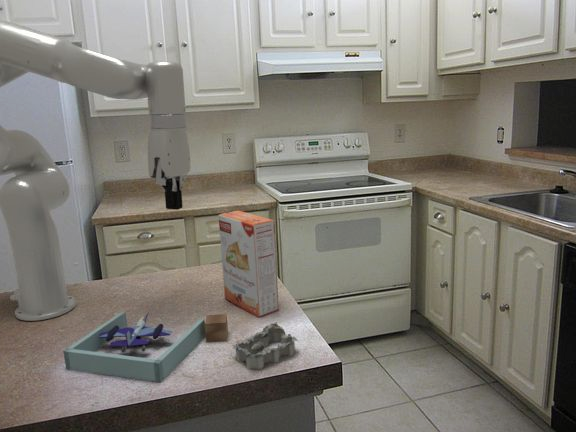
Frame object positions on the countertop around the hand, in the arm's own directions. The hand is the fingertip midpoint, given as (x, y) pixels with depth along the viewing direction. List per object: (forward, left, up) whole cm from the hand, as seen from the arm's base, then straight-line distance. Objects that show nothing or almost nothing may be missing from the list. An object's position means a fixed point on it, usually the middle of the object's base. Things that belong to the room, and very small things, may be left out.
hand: (174, 208), depth 106 cm
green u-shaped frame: (+2, -20, -23) cm, 31 cm away
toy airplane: (0, -17, -23) cm, 29 cm away
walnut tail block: (+14, -12, -23) cm, 30 cm away
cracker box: (+15, +4, -23) cm, 28 cm away
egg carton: (+26, -17, -24) cm, 39 cm away
